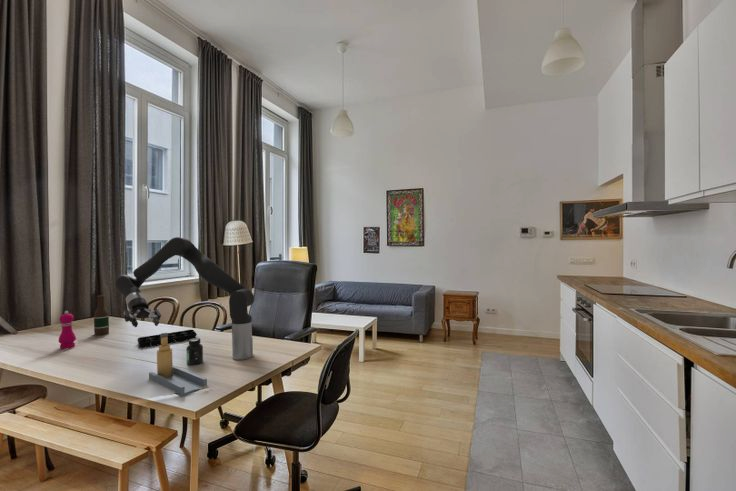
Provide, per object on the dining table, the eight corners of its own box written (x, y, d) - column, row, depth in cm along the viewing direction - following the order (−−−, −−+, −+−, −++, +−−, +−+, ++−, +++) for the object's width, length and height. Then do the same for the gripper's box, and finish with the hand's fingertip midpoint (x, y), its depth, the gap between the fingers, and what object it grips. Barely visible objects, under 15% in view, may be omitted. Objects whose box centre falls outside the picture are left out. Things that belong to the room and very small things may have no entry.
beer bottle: (97, 336, 216) (96, 296, 215) (91, 334, 220) (90, 295, 219) (111, 333, 222) (110, 295, 222) (106, 331, 226) (105, 294, 226)
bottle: (173, 372, 152) (172, 331, 152) (172, 377, 147) (171, 334, 147) (158, 375, 150) (157, 332, 150) (156, 379, 145) (155, 336, 145)
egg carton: (201, 338, 209) (201, 332, 209) (143, 351, 187) (143, 344, 187) (188, 333, 221) (188, 327, 221) (132, 345, 198) (132, 338, 198)
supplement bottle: (186, 368, 160) (185, 342, 160) (187, 363, 166) (186, 338, 166) (203, 366, 163) (202, 340, 162) (203, 361, 169) (202, 336, 169)
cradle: (149, 381, 146) (148, 372, 146) (173, 373, 155) (173, 365, 154) (181, 396, 131) (181, 387, 131) (207, 387, 140) (206, 378, 139)
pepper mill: (78, 346, 196) (77, 310, 195) (63, 350, 189) (62, 312, 189) (71, 344, 199) (70, 309, 198) (55, 348, 192) (54, 311, 192)
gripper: (122, 296, 162) (131, 319, 153) (155, 296, 173) (166, 317, 164) (117, 310, 164) (126, 333, 155) (150, 309, 175) (161, 330, 166)
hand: (147, 325), depth 159 cm, fingers open, 8 cm apart
